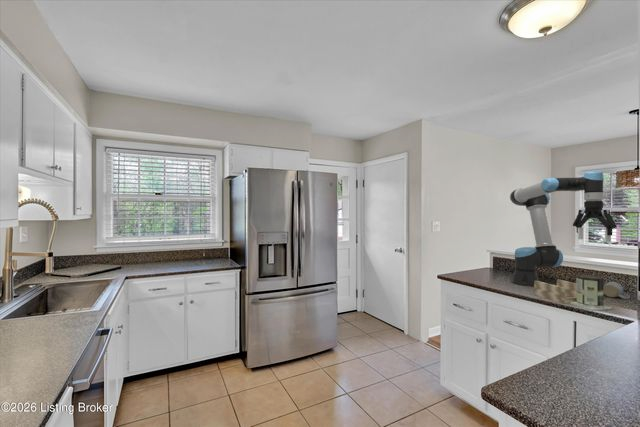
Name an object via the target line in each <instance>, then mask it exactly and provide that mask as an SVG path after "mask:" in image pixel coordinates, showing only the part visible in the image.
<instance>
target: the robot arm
mask: <svg viewBox="0 0 640 427" xmlns="http://www.w3.org/2000/svg"><path fill="white" fill-rule="evenodd" d="M580 191H581V192H582V191H583V194H584V195H583V200H584V201H583V205H584V206H583V208H584V209H578V214H577V215H576V218H575V220H574V221H573V223H572V226H573V227H576V233H577V240H584V227H583V226H584V224H586V223H587V222H588V221H589V220H590V219H597V220H598V221H600V223H601V224H602V225H603V226H604V227H605V229H604V242H605V243H611V241H612V239H611V238H612V235H613V230H614V229H617V228H618V225H617V224H616V222H615V220H614V219H613V216H612V215H611V210H610V209H603V208H604V201H603V200H604V174H603V171H601V170H599V171H598V170H597V171H587V172H584V175H583V176H578V177H546V178H544V179H543V180H542V181H541V182H539V183H536V184H533V185H529V186H527V187H525V188H523V187H522V188H517V189H515V190H513V191H512V192H511V193H510V195H509V199H510V201H511V203H513V204H514V205H516V206H521V207H522V206H523V207H525V209H526V211H528V212H529V216H530V219H531V225H532V231H533V235H534V239H535V244H536V245H535V246H534V247H533V246H528V247H527V246H524V247H519V248H515V250H514V273H513V275H512V278H511V282H512V284H516V285H519V286H525V287H526V286H528V287H534V281H540V280H539V276H538V273H537V268H550V269H552V268H558V267H560V266H561V265H562V264H563V261H564V255H563V252H562V251H561V250H560V249H558V248H557V245H556V244H554V243H553V241H552V235H551V232H550V225H549V223H548V219H547V213H546V209H547V206H548V205H549V203H550V200H551V198H550V197H551V196H550V194H551V193H554V192H580Z"/></svg>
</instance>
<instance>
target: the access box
mask: <svg viewBox="0 0 640 427" xmlns="http://www.w3.org/2000/svg"><path fill="white" fill-rule="evenodd" d="M533 287H534V288H533V289H534V290H533V293H534V295H535V296H537V297H541V298H544V299H547V300H551V301H554V302H557V303H560V304H565V305H566V304H570V302H577V286H576V282H571V281H567V280H563V279H559V278H558V279H556V285H555V284H551V283H547V282H543V281H540V280H539V281H534V286H533Z"/></svg>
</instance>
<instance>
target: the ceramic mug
mask: <svg viewBox="0 0 640 427" xmlns="http://www.w3.org/2000/svg"><path fill="white" fill-rule="evenodd" d="M603 295H604V296H606V297H607V298H617V297H619V298H621V299H624V300H630V298H631V296H630V295H629V294H627V293H626V292H624V287H623V286H622V285H621V284H620V283H619V282H616V281H608V282H606V283H605V284H603Z"/></svg>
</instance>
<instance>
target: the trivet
mask: <svg viewBox="0 0 640 427" xmlns="http://www.w3.org/2000/svg"><path fill="white" fill-rule="evenodd" d="M569 304H571V305H574V306H577V307H580V308H584V309H587V310H590V311H602V310H604V311H605V310H613V307H612V306H607V305H605V304H604V307H600V308H599V307H598V308H597V307H588V306H583V305H580V304H578V303H577V302H570V303H569Z"/></svg>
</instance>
